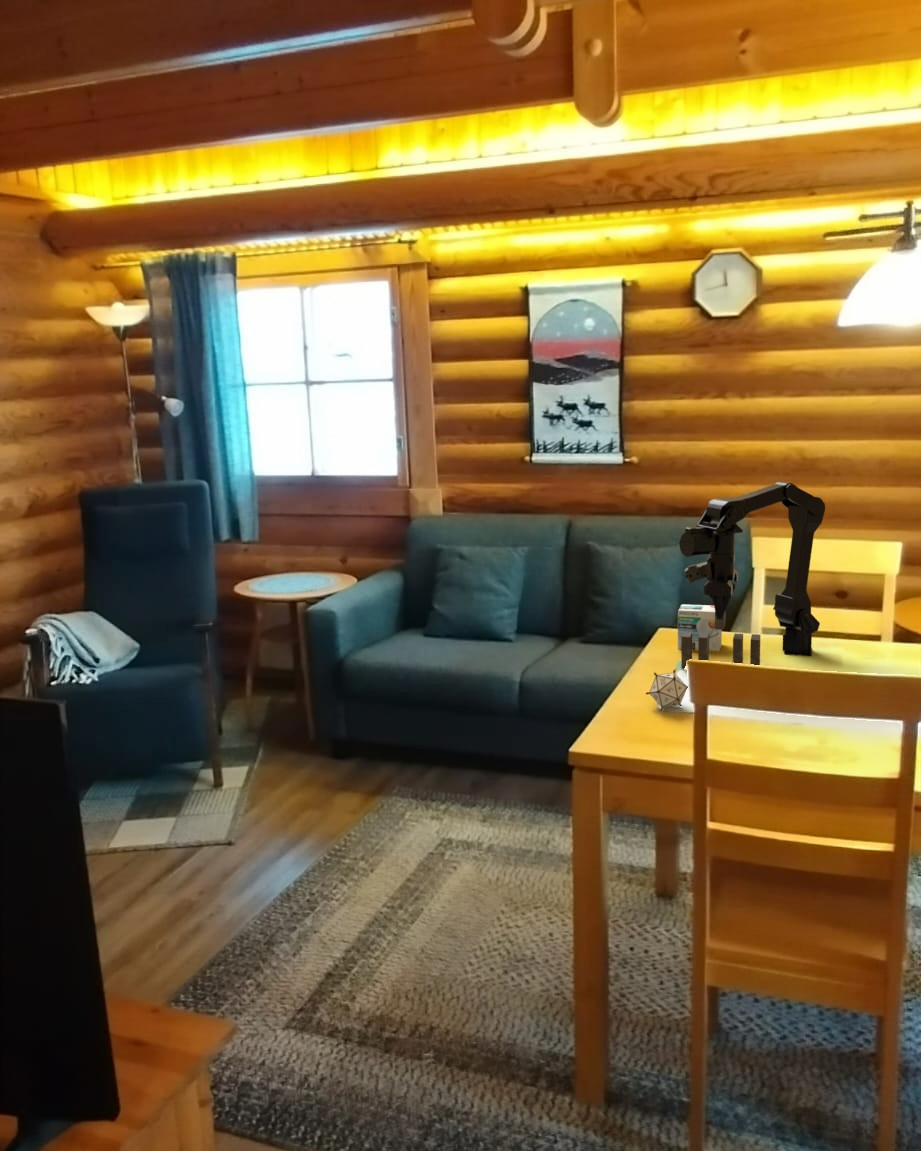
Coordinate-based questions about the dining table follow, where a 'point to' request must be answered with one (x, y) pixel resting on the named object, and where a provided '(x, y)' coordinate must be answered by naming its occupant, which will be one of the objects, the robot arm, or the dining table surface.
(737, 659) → the domino
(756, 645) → the domino
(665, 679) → the game die
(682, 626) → the light bulb box
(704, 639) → the domino
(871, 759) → the dining table surface
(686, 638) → the domino
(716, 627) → the domino
